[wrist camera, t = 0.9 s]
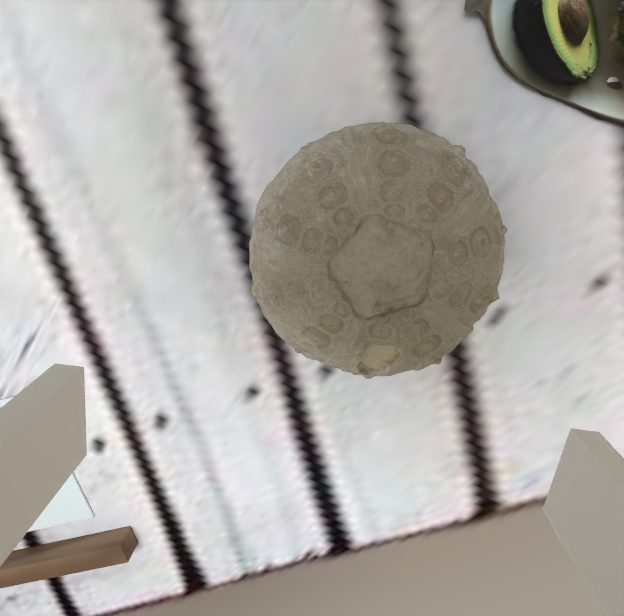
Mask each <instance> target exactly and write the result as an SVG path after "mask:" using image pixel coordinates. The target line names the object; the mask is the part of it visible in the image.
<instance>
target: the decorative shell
mask: <svg viewBox="0 0 624 616" xmlns="http://www.w3.org/2000/svg"><path fill="white" fill-rule="evenodd" d="M506 232H507V229H506V227H505V226H504V225H503V224H502V220H501V216H500V213H499V210H498V207H497V205H496V203H495V202H494V201H493V200H492V198H491V197H490V195H489V191H488V187H487V185H486V183H485V180H484V178H483V177H482V176H481V175H480V174H479V173H478V170H477V167H476V166H475V165H474V164H473V163H472V162H471V161H470V160H468V159H466V158H465V148H464V147H463V146H458V145H454V146H452V145H451V144H450V143H449V142H448V141H447V140H446V139H445V138H443V137H439V136H437V135H435V134H433V133H430V132H427V131H423V130H420V129H418V128H416V127H414V126H412V125H408V124H399V123H383V122H382V123H370V124H361V125H357V126H353V127H344V128H343V129H341V130H340V131H335V132H331V133H330V134H328V135H327V136H325V137H323V138H321V139H319V140H317V141H315V142H311V143H308V145H307V146H304V147H302V148H301V149H300V151H299V152H298V153H297V154H296V155H295V156H294V157H293V158H291V159H290V160H289V161H288V162H287V164H286V165H285V166H284V167H283V169H282V170H281V171H280V172H279V174H278V175H277V176H276V178H275V179H274V181H272V182H271V183H270V184H269V185H268V186H267V188H266V189H265V191H264V193H263V194H262V196H261V198H260V200H259V203H258V205H257V208H256V216H255V219H254V222H253V229H252V237H251V240H250V242H249V250H250V265H249V268H250V271H251V274H252V279H253V284H252V287H251V290H250V293H251V295H252V296H254V297H256V298H257V302H258V303H259V304H260V307H261V310H262V313H263V315H264V316H265V317H266V319H267V320H268V321H269V323H270V324H271V325H272V327H273V328H274V330H275V332H276V333H277V334H278V335H279V336H280V337H281V338H282V339H283V340H284V341H286V342H287V343H288V344H289V345H291V346H292V347H294V348H295V351H296V352H298V353H302V354H303V355H304V356H306V357H307V358H310V359H313V360H318V361H320V362H321V363H323V364H325V365H327V366H330V367H335V368H339V369H341V370H342V371H344V372H351V373H352V374H354V375H363V376H364V377H365V378H372V377H374V376H391V375H394V374H397V373H401V372H404V371H409V370H421V369H423V368H425V367H427V366H429V365H430V364H435V363H436V364H437V365H438V364H440V363H441V360H442V357H443V355H445V354H447V353H449V352H451V351H452V350H453V349H454V348H455V347H456V346H457V345H458V344H459V343H460V341H461V340H462V339H463V338H465V337H467V336H468V335H469V334H470V333H471V332H472V330H473V324H474V323H475V322H476V321H478V320H479V319H480V318H481V317H482V316H483V315H484V313H485V312H486V309H487V307H488V306H489V305H490V303H492V302H493V301H495V300H497V299H499V296H498V290H497V286H498V283H499V280H500V278H501V274H502V271H503V262H504V243H505V240H504V234H505V233H506Z"/></svg>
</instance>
